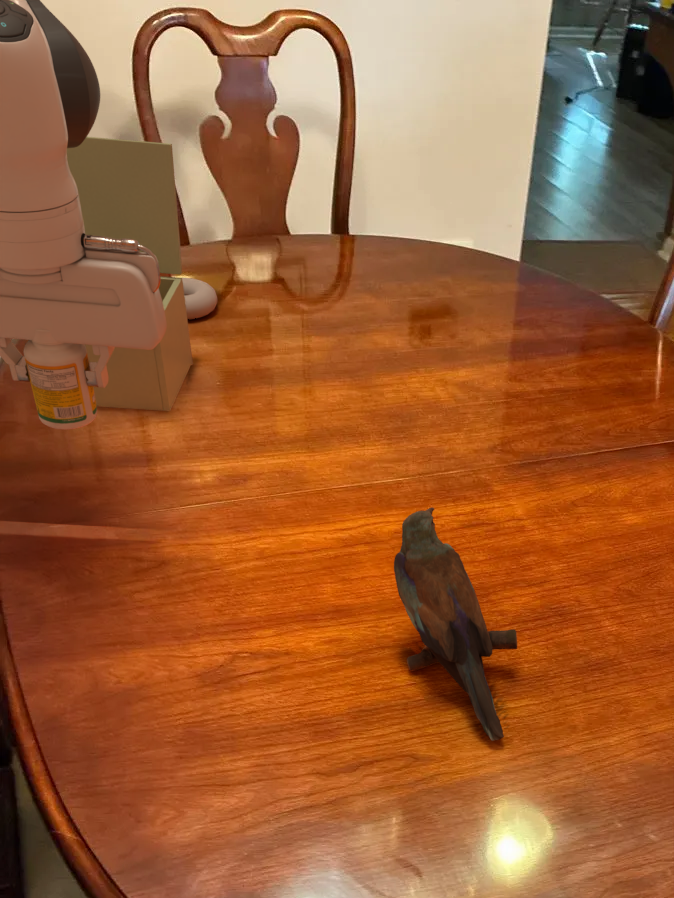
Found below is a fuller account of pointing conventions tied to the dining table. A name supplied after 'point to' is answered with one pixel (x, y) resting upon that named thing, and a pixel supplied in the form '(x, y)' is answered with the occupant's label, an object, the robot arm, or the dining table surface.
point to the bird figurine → (447, 614)
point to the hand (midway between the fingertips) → (61, 381)
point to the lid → (129, 194)
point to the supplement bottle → (60, 381)
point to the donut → (198, 298)
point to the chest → (150, 361)
